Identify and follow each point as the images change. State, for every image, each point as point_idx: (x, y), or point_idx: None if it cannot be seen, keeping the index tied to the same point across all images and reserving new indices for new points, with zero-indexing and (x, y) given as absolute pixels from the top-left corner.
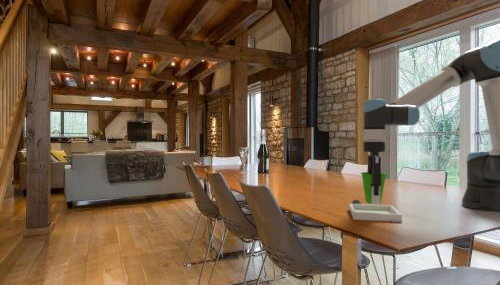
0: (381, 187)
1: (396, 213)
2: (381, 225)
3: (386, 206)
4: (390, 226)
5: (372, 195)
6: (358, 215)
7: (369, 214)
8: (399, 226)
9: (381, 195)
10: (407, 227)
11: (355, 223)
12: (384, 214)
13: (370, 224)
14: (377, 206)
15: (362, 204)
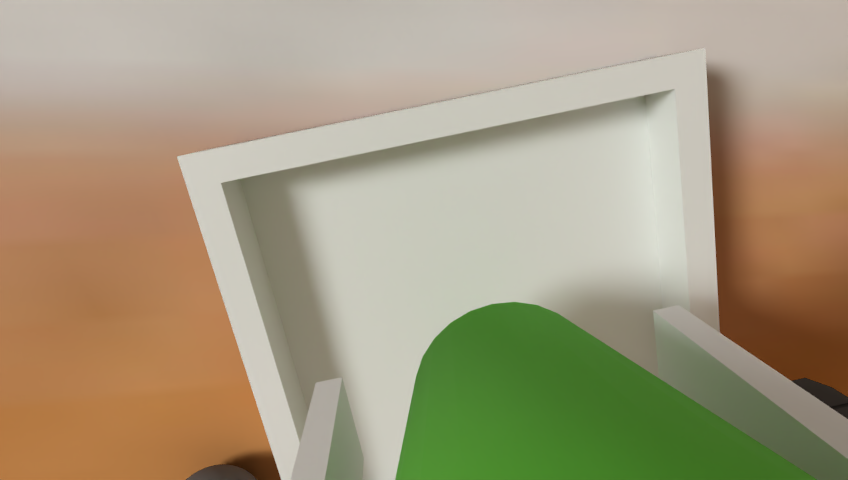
0: (711, 413)
1: (586, 106)
2: (823, 230)
3: (235, 219)
4: (840, 159)
5: None
6: None
7: None
8: (825, 83)
9: (589, 336)
10: (845, 13)
11: None
12: (709, 226)
13: (810, 312)
14: (265, 314)
15: None
